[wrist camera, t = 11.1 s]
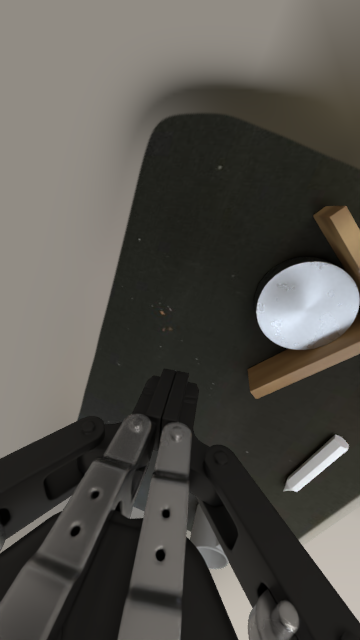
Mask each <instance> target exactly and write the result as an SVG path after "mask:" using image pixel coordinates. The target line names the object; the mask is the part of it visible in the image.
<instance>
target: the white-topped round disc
mask: <svg viewBox="0 0 360 640" xmlns="http://www.w3.org/2000/svg"><path fill="white" fill-rule="evenodd" d="M359 304H360V296H359V291H358V287H357V285H356V283H355V281H354V280H353V278H352V277H351V276H350V275H349V274H348V273H347V272H346V271H344V270H343V269H341V268H340V267H338V266H336V265H334V264H332V263H330V262H328V261H326V260H324V259H321V258H316V257H298V258H293V259H290V260H287V261H285V262H282V263H280V264H279V265H277V266H275V267H274V268H273V269H271V270H270V271H269V272H268V273H267V274H266V275H265V276H264V277H263V279H262V280H261V282H260V283H259V285H258V287H257V290H256V293H255V297H254V309H255V313H256V317H257V321H258V324H259V326H260V328H261V330H262V332H263V333H264V334H265V335H266V337H268V338H269V339H270V340H271V341H273V342H274V343H276V344H278V345H280V346H282V347H285V348H289V349H295V350H308V349H314V348H318V347H322V346H324V345H327V344H329V343H331V342H333V341H334V340H336V339H337V338H339V337H340V336H341V335H343V334H344V333H345V332H346V331H347V330H348V329H349V327H350V326H351V325H352V323H353V321H354V320H355V318H356V316H357V313H358V309H359Z"/></svg>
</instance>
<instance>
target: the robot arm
mask: <svg viewBox="0 0 360 640" xmlns="http://www.w3.org/2000/svg"><path fill="white" fill-rule="evenodd" d="M188 378H189V373H185V372H180V371H177V372H176V371H174V370H169V369H164V370H163V372H162V375H161V377H159V376H152V377H151V378H150V379H149V380H148V381H147V383H146V385H145V387H144V389H143V391H142V394H141V396H140V398H139V400H138V402H137V404H136V407H135V409H134V411H133V413H132V415H130V416H128V417H127V418H125V420H124V421H123V422H121V423H117V424H105V425H104V422H103V420H102V419H100V418H99V417H95V416H89V417H85V418H83V419H80V420H78V421H76V422H74V423H72V424H70V425H68V426H66V427H64V428H62V429H60V430H58V431H56V432H54V433H52V434H50V435H48V436H46V437H44V438H42V439H40V440H38V441H35V442H33V443H31V444H29V445H27V446H25V447H23V448H21V449H19V450H17V451H15V452H13V453H11V454H9V455H7V456H5V457H3V458H1V459H0V551H1V549H2V547H3V545H4V542H5V540H6V539H7V538H9V537H10V536H12V535H13V534H15V533H16V532H18V531H19V530H21V529H22V528H24V527H25V526H27V525H28V524H30V523H31V522H33V521H34V520H36V519H37V518H39V517H40V516H42V515H43V514H45V513H46V512H48V511H49V510H51V509H52V508H53V507H55V506H57V505H58V504H59V503H61V502H62V501H64V500H66V499H67V498H69V497H70V496H72V497H71V498H70V500H69V501H68V503H67V505H66V506H65V508H64V509H63V511H61V512H59V513H57V514H55V515H53V516H52V517H50V518H49V519H47V520H46V521H45V522H43V523H42V524H40V525H39V526H38V527H36V528H35V529H33V530H32V531H31V532H29V533H28V534H27V535H25V536H24V537H22V538H21V539H20V540H18V541H17V542H15V543H14V544H13V545H11V546H10V547H9V548H7V549H6V550H4V551H3V552H2V553H0V640H238V638H237V635H236V633H235V631H234V628H233V626H232V623H231V621H230V619H229V617H228V614H227V611H226V609H225V607H224V604H223V602H222V600H221V597H220V595H219V592H218V590H217V588H216V585H215V583H214V580H213V578H212V576H211V573H210V571H209V569H208V566H207V564H206V562H205V560H204V558H203V556H202V555H201V553H200V552H199V550H198V549H197V547H196V546H195V545H194V544H193V543H192V542H191V541H190V540H189V539H188V538H187V537H186V530H187V515H188V500H189V492H190V493H192V494H193V495H195V496H196V497H197V500H198V503H199V505H200V507H201V509H202V511H203V513H204V514H205V516H206V518H207V520H208V522H209V524H210V526H211V528H212V530H213V532H214V534H215V536H216V538H217V540H218V542H219V544H220V546H221V547H222V549H223V551H224V553H225V555H226V557H227V559H228V561H229V563H230V565H231V567H232V569H233V571H234V573H235V575H236V577H237V578H238V580H239V582H240V584H241V586H242V588H243V590H244V592H245V594H246V596H247V598H248V600H249V602H250V604H251V606H252V608H253V609H252V611H251V612H250V615H249V620H248V634H249V640H360V623H359V621H358V620H357V619H356V618H355V616H354V615H353V613H352V612H351V611H350V610H349V608H348V606H347V605H346V604H345V602H344V601H343V600H342V598H341V597H340V596H339V594H338V593H337V592H336V590H335V589H334V588H333V586H332V585H331V584H330V582H329V581H328V580H327V578H326V577H325V576H324V574H323V573H322V571H321V570H320V569H319V567H318V566H317V565H316V563H315V562H314V561H313V559H312V558H311V557H310V555H309V554H308V553H307V551H306V550H305V549H304V547H303V546H302V545H301V543H300V542H299V540H298V539H297V538H296V536H295V535H294V534H293V532H292V531H291V530H290V528H289V527H288V526H287V524H286V523H285V522H284V520H283V519H282V518H281V516H280V515H279V514H278V512H277V511H276V510H275V508H274V507H273V505H272V504H271V503H270V501H269V500H268V499H267V497H266V496H265V495H264V493H263V492H262V491H261V489H260V488H259V487H258V485H257V484H256V483H255V481H254V480H253V479H252V477H251V476H250V475H249V473H248V472H247V470H246V469H245V468H244V466H243V465H242V464H241V462H240V461H239V460H238V458H237V457H236V456H235V454H234V453H233V452H232V451H231V450H230V449H229V448H227V447H225V446H223V445H213V446H211V447H209V446H207V445H205V444H203V443H202V442H200V441H199V440H198V439H197V437H196V436H195V434H194V431H193V425H194V419H195V412H196V406H197V400H198V393H199V390H198V387H197V384H195V383H190V382H188ZM158 449H159V450H158ZM153 450H155V451H158V455H157V460H156V465H155V470H154V473H153V475H152V479H151V484H150V489H149V493H148V498H147V503H146V508H145V513H144V518H140V519H130V517H131V512H132V508H133V505H134V502H135V499H136V497H137V494H138V492H139V489H140V487H141V484H142V481H143V479H144V476H145V474H146V471H147V469H148V466H149V461H150V458H151V455H152V452H153Z"/></svg>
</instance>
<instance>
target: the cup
mask: <svg viewBox="0 0 360 640" xmlns="http://www.w3.org/2000/svg"><path fill="white" fill-rule="evenodd" d="M190 541H191V542H192V543H193V544H194V545H195V546H196V547H197V549H198V550H199V552H200V553H201V555H202V556H203V558H204V560H205V562H206V564H207V566H208V568H211V569H221V568H224V567H225V566H227V564H228V559H227V557H226V555H225V553H224V551H223V549H222V547H221V546H220V544H219V542H218V540H217V538H216V536H215V534H214V532H213V530H212V528H211V526H210V524H209V522H208V520H207V518H206V516H205V514H204V513H203V511H202V509H201V507H200V505H199V504H198V506H197V510H196V514H195V518H194V523H193V527H192V532H191V537H190Z"/></svg>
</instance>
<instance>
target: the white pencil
mask: <svg viewBox="0 0 360 640" xmlns="http://www.w3.org/2000/svg"><path fill="white" fill-rule="evenodd" d="M348 447H349V445H348V443H347V442H346V441H345V440H344V439H343V438H342V437H340V436H338V435H336V434H335V435H334V436H333V437H332V438H331V439H330V440H329V441H328V442H326V443H325V444H324V445H323V446H322V447H321V448H320V449H319V450H318V451H316V452H315V453H314V454H313V455H312V456H311V457H310V458H309V459H308V460H307V461H305V462H304V463H303V464H302V465H301V466H300V467H299V468H298V469H297V470H296V471H294V472H293V473H292V474H291V475H290V476H289V477H288V479H287V481H286V486H285V488H284V490H283V491H295V492H298V491H299V490H300V489H301V488H303V487H304V486H305V485H306V484H307V483H309V482H310V481H311V480H312V479H313V478H315V477H316V476H317V475H318V474H319V473H321V472H322V471H323V470H324V469H325V468H327V467H328V466H329V465H330V464H331V463H332V462H334V461H335V460H336V459H337V458H338V457H340V456H341V455H342V454H343V453H344V452H346V451H347V450H348Z"/></svg>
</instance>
